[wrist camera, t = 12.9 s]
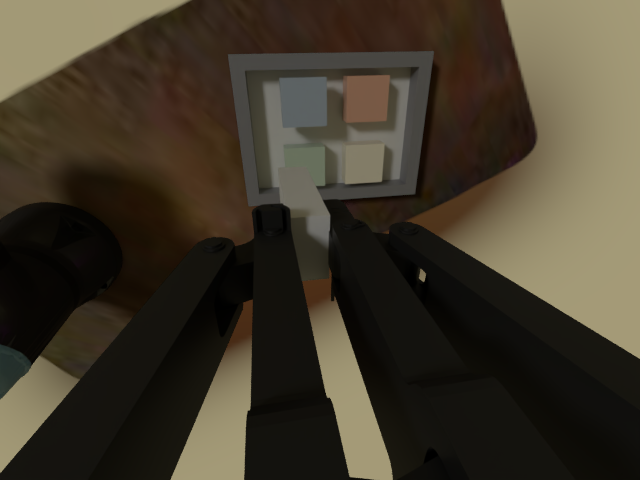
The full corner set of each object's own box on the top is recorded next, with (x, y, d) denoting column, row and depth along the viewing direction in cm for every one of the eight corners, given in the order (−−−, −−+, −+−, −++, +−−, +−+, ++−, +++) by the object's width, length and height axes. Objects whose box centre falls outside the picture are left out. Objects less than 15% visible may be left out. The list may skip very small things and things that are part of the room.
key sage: (285, 182, 45) (286, 188, 42) (283, 144, 42) (284, 148, 40) (322, 179, 45) (325, 185, 43) (321, 142, 43) (324, 146, 41)
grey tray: (249, 198, 46) (248, 206, 43) (230, 55, 37) (228, 54, 35) (407, 187, 49) (415, 194, 46) (423, 52, 40) (433, 51, 38)
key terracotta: (342, 119, 42) (346, 122, 40) (342, 75, 39) (347, 76, 37) (380, 118, 42) (386, 121, 40) (383, 74, 40) (390, 75, 38)
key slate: (282, 124, 39) (283, 127, 37) (278, 77, 37) (279, 78, 35) (323, 122, 40) (326, 126, 38) (323, 76, 37) (326, 76, 35)
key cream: (341, 178, 46) (345, 184, 43) (342, 141, 43) (346, 145, 41) (376, 176, 46) (381, 181, 44) (378, 139, 44) (384, 143, 42)
